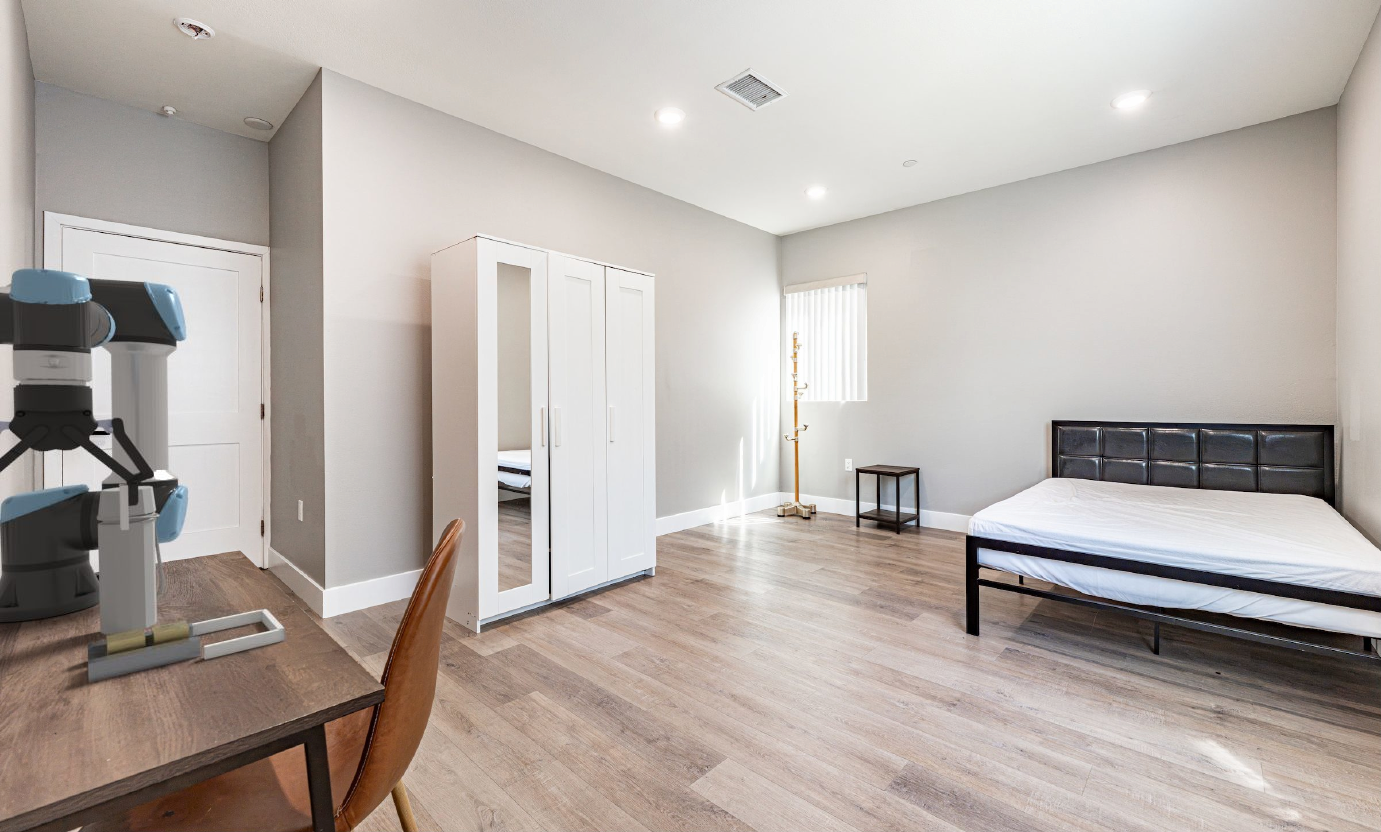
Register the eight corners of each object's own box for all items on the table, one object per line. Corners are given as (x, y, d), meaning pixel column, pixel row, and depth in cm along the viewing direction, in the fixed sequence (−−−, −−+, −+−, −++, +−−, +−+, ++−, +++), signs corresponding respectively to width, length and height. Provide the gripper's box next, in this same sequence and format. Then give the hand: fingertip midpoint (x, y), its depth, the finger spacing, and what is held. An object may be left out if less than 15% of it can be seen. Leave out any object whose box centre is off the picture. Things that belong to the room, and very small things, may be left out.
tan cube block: (107, 662, 89) (106, 635, 89) (143, 654, 92) (142, 628, 92) (108, 670, 86) (107, 643, 86) (145, 662, 89) (145, 635, 89)
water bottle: (123, 643, 99) (120, 492, 99) (86, 639, 101) (83, 491, 100) (181, 623, 108) (178, 484, 108) (146, 620, 110) (143, 483, 109)
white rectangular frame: (192, 641, 100) (192, 623, 100) (266, 625, 107) (266, 608, 107) (205, 667, 90) (204, 647, 90) (285, 647, 97) (285, 628, 97)
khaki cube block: (152, 652, 93) (151, 626, 93) (186, 644, 96) (185, 619, 95) (154, 660, 90) (154, 633, 90) (189, 652, 93) (188, 626, 93)
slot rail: (87, 668, 90) (87, 644, 90) (191, 645, 98) (191, 622, 98) (89, 690, 83) (88, 664, 83) (200, 663, 91) (200, 639, 91)
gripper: (-99, 380, 72) (-93, 557, 72) (175, 384, 90) (178, 526, 90) (-89, 382, 77) (-84, 547, 77) (168, 386, 95) (171, 519, 95)
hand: (57, 536), depth 84 cm, fingers open, 13 cm apart
